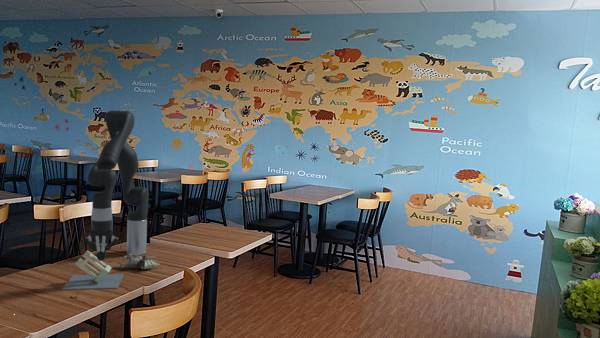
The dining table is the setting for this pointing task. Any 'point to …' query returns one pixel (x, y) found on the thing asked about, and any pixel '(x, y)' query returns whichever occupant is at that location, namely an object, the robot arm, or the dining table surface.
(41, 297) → the dining table surface
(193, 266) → the dining table surface
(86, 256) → the stool
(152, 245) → the dining table surface
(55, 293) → the dining table surface
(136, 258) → the figurine
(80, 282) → the mat
